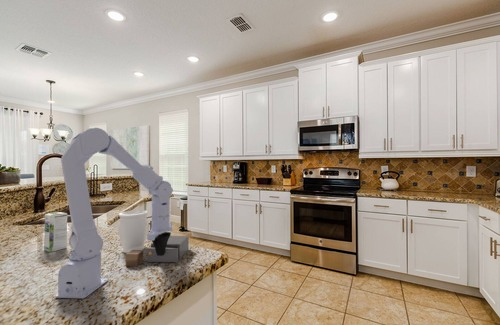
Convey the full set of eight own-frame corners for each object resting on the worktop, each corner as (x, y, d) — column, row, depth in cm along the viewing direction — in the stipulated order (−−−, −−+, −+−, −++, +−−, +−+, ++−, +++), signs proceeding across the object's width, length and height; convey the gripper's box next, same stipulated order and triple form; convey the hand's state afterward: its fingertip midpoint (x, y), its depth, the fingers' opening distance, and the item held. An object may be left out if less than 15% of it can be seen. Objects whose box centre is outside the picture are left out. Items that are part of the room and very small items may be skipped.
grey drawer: (176, 262, 80) (176, 249, 80) (146, 262, 81) (146, 248, 81) (186, 251, 91) (186, 239, 91) (160, 250, 92) (160, 239, 92)
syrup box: (43, 250, 93) (43, 213, 93) (60, 245, 98) (61, 211, 99) (50, 252, 90) (50, 215, 91) (67, 247, 96) (68, 212, 96)
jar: (135, 255, 87) (135, 215, 88) (112, 253, 89) (112, 214, 90) (152, 246, 98) (153, 210, 98) (131, 244, 100) (131, 209, 100)
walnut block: (137, 266, 78) (137, 254, 78) (125, 265, 78) (125, 254, 78) (143, 261, 82) (143, 249, 82) (132, 261, 82) (132, 249, 82)
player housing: (179, 259, 83) (179, 244, 83) (150, 259, 84) (150, 243, 84) (188, 249, 93) (188, 235, 93) (162, 249, 94) (162, 235, 94)
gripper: (162, 220, 73) (162, 264, 72) (179, 211, 87) (179, 247, 87) (141, 220, 73) (140, 263, 73) (161, 211, 88) (161, 247, 87)
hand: (160, 255), depth 80 cm, fingers closed
